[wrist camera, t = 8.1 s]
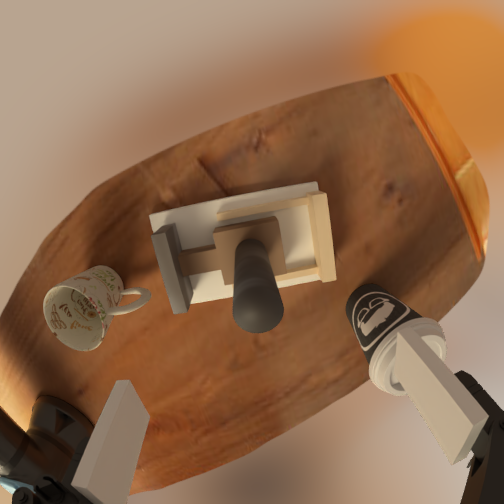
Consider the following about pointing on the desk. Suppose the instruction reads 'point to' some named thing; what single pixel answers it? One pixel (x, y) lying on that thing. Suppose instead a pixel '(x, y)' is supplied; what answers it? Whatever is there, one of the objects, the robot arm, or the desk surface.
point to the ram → (229, 269)
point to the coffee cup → (388, 332)
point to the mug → (88, 306)
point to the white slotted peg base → (256, 207)
